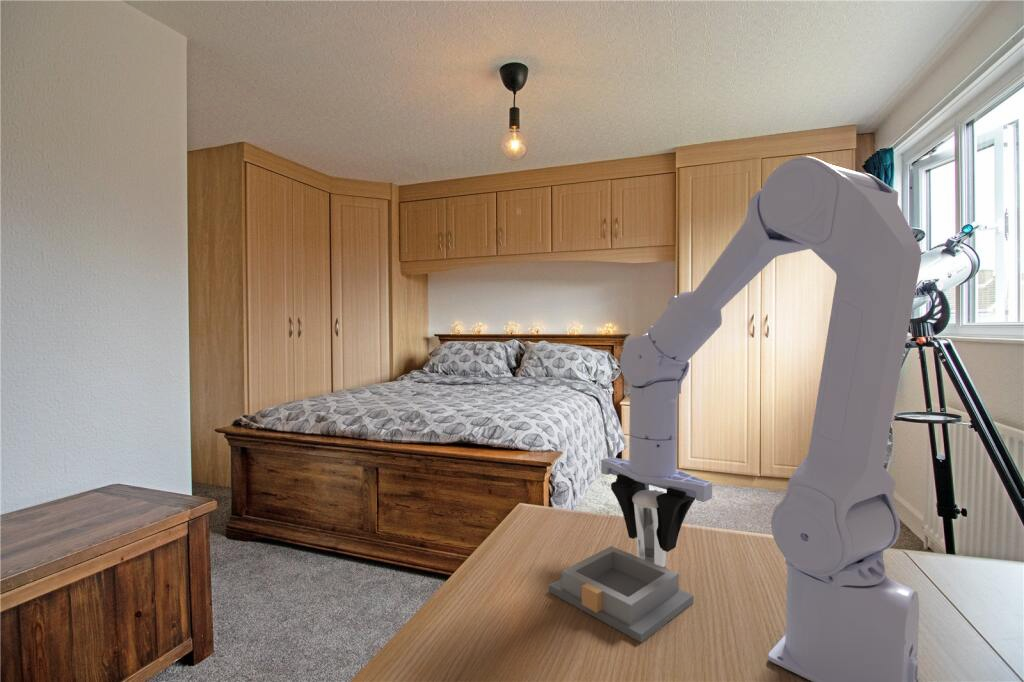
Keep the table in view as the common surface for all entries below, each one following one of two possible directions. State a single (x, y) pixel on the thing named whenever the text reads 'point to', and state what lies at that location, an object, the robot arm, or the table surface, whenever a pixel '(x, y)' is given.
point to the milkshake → (648, 526)
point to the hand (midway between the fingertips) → (651, 542)
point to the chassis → (623, 592)
